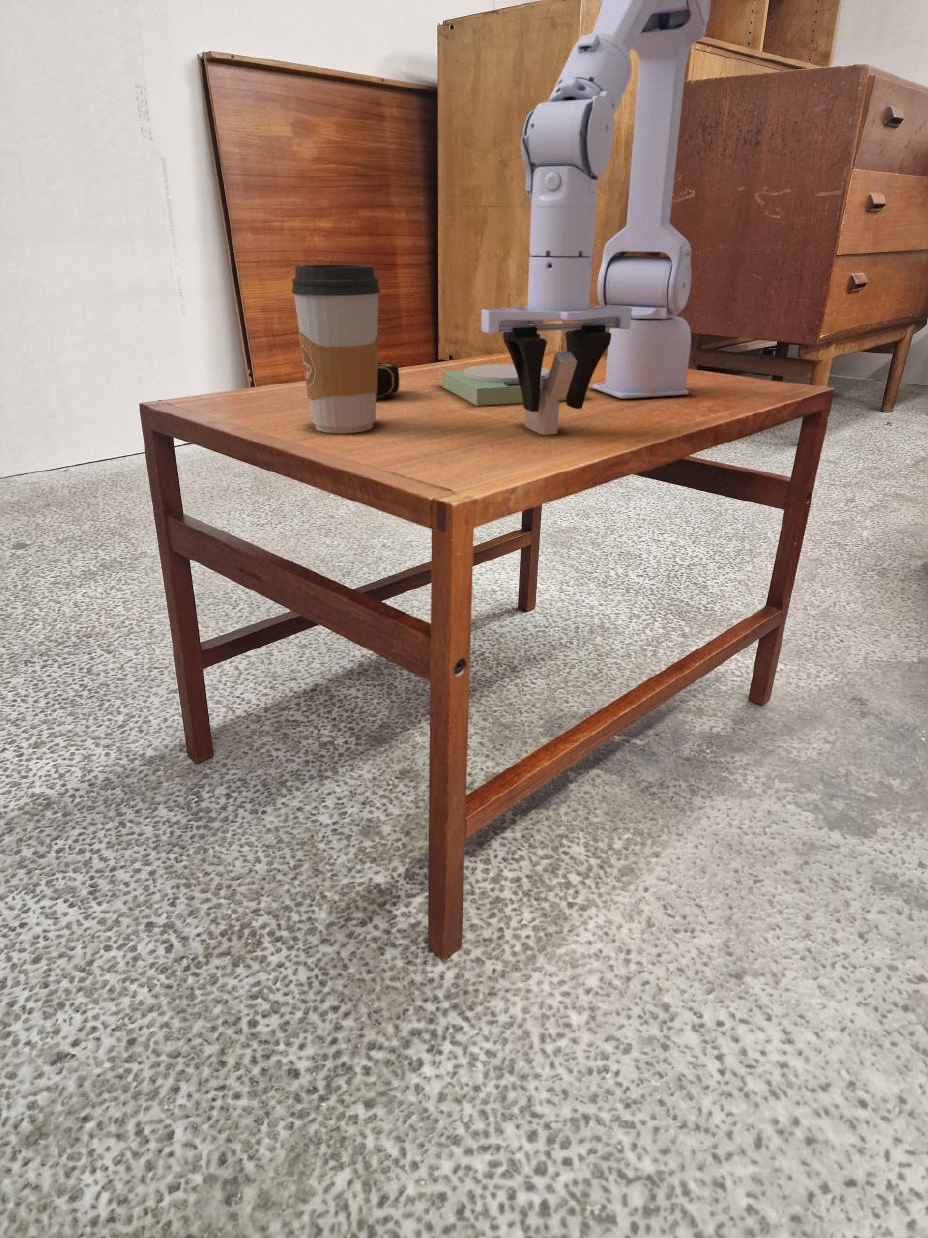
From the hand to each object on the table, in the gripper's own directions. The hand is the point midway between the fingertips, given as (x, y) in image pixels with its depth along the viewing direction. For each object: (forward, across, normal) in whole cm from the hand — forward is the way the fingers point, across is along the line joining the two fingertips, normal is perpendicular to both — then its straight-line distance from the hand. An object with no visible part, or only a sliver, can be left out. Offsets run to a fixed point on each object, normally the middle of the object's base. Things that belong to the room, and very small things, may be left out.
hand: (552, 408), depth 79 cm
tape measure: (+3, -13, +25) cm, 28 cm away
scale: (+2, +4, +22) cm, 22 cm away
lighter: (+3, 0, 0) cm, 3 cm away
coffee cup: (+3, -19, +9) cm, 21 cm away
